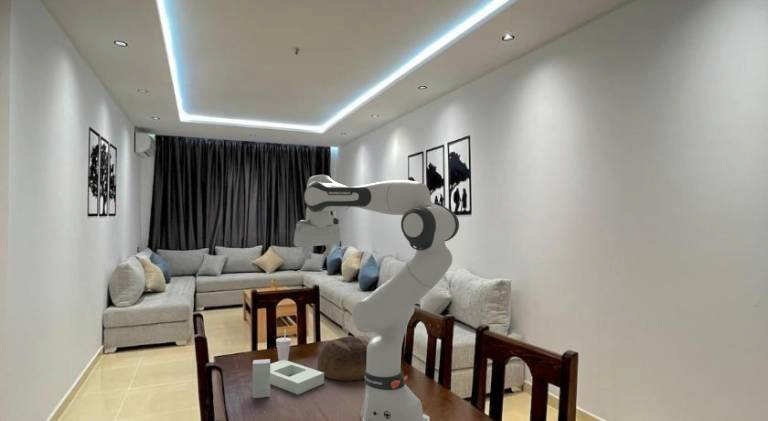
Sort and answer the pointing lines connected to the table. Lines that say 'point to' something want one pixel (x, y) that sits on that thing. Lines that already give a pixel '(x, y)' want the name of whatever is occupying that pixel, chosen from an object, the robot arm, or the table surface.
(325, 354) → the bread
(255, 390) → the skincare box
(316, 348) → the table surface
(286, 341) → the smoothie
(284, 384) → the white rectangular holder
